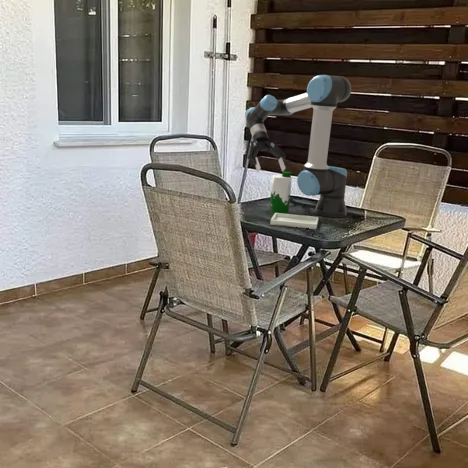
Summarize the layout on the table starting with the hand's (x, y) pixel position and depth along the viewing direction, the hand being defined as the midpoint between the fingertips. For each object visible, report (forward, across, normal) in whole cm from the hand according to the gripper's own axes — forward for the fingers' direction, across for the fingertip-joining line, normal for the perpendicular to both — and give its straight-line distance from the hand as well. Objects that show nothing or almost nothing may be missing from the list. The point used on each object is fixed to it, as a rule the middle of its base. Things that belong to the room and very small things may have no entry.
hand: (271, 169), depth 294 cm
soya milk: (+21, 0, -6) cm, 22 cm away
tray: (+34, +2, +7) cm, 35 cm away
